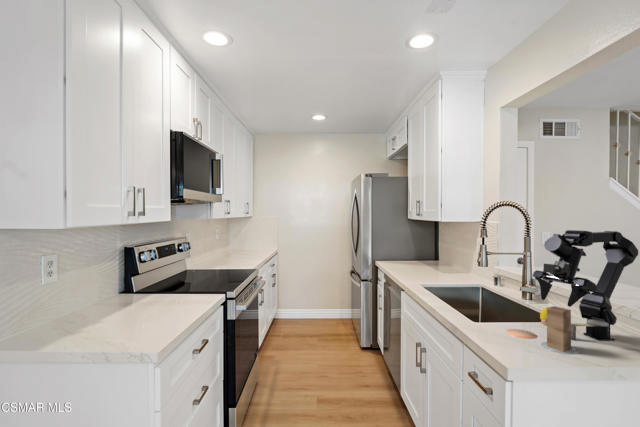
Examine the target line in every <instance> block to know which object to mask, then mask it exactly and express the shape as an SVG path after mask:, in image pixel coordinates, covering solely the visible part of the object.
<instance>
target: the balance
mask: <svg viewBox="0 0 640 427" xmlns="http://www.w3.org/2000/svg"><path fill="white" fill-rule="evenodd" d="M540 320H541V319H540ZM540 324H541V325H544V326H547V319H545V320H541V321H540ZM586 326H603V327H607V326H609V323H607V322H604V321H600V320H591V319H590V320H587V319H586V323H571V341H577V327H586Z"/></svg>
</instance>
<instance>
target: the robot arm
mask: <svg viewBox="0 0 640 427" xmlns="http://www.w3.org/2000/svg"><path fill="white" fill-rule="evenodd" d="M612 242H614V243H612ZM594 243H603V244H602V248H603V250H604V251H605V254H604V255H605V257H606V260H607V261H606V262H607V263H606V265H605V267H604V268H603V271H602V272H601V275H600V277H599V279H598V281H597V283H595V282H593V281H592V280H590V279H588V278H584V277H578V276H576V274H577V272H578V273H580V270H581V268H579V266H580V265H579V264H580V263H581V259H582V257H586V256H587V254H586V252H585V250H584V248H578V247H589V246H592V245H593V244H594ZM543 245H544V246H543V247H544V249H545V250H547V251H548V252H549V253H551V254H553V255H554V256H556V257H557V258H558V257H559V259H558V260H555V262H554V263H543V270H534V271H533V273H532V277H533V278H534V279H535V280H536V281H537V282H538V284H539V288H540V299H541V300H542V301H545V299H546V298H547V297H548V294H549V293H550V291H551V289H552V286H553V282H556V283H562V284H567V285H570V289H571V292H570V294H569V297H568V301H567V307H569V308H571V307H572V306H573V305H575V304H576V303H578V301H579V300H580V303H579V306H578V308H579V311H580V315H581V318H582V319H586V321H587V320H590V319H591V320H600V321H604V322H607V323H609V326H607V327H603V326H585V332H583V333H582V334H583V335H584V336H587V337H589V338H591V339H594V340H598V341H615V338H613V337H611V326H615V324H616V323H617V319H618V317H616V315H615V314H614V313H613V311H612V310H613V306H612V304H611V299H610V298H611V297H612V295H613V292H614V290H615V288H616V286H617V283H618V282H619V280H620V278H621V275H622V273H623V271H624V269H625V268H626V267H627V266H629V265H631V264H633V263H634V261H635V260H636V258H637V257H638V255H639V249H638V247H636V244H634V242H633V241H631V240H630V239H629V238H627V237H625V236H623V234H622V233H621V232H620V231H612V230H606V231H605V230H604V231H593V232H592V231H589V230H579V229H578V230H576V229H575V230H573V229H572V230H570V229H567V230H565V231H564V233H563V234H562V235H561V234H560V233H553V234H552V236H551V237H549V238H547V239H546V241H545V242H544V244H543ZM581 298H582V299H581Z"/></svg>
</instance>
